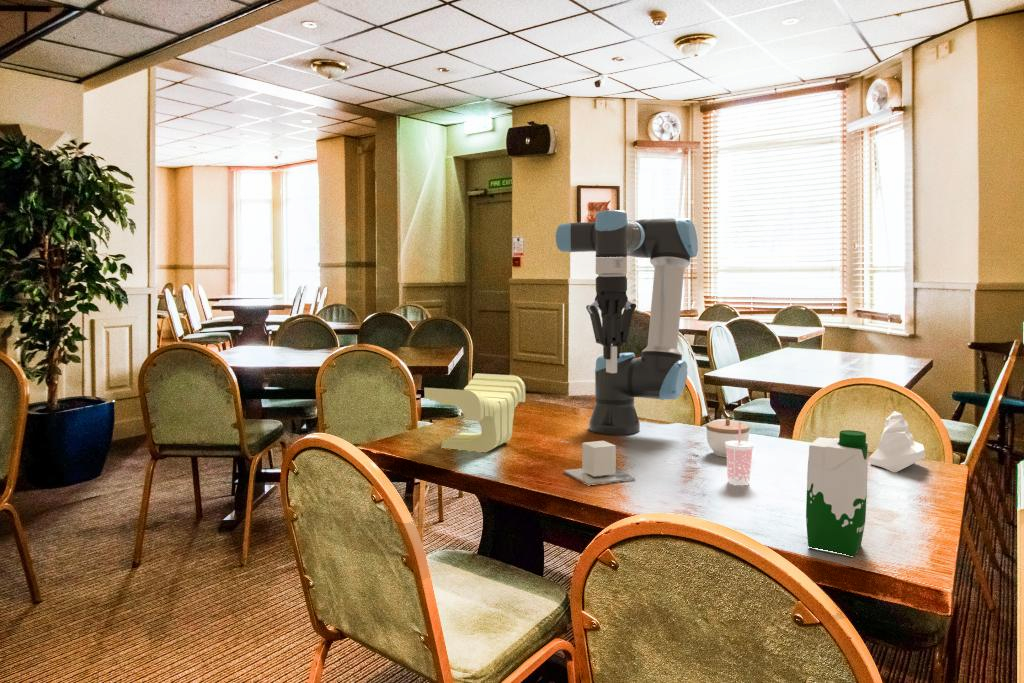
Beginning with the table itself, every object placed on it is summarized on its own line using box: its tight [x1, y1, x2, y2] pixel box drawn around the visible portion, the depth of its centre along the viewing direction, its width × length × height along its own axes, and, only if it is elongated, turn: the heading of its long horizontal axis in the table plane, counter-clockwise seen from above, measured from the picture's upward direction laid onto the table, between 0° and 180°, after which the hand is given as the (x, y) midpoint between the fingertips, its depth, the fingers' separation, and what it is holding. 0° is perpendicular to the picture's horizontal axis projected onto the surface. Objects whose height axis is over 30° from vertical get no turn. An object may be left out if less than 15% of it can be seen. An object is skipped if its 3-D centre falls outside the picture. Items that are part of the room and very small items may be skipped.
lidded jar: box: [705, 418, 750, 458], centre depth 186 cm, size 11×11×9 cm
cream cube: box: [581, 440, 617, 477], centre depth 165 cm, size 6×6×7 cm
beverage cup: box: [725, 420, 755, 485], centre depth 160 cm, size 6×6×14 cm
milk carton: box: [805, 429, 869, 557], centre depth 121 cm, size 9×9×20 cm
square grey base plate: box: [563, 467, 636, 485], centre depth 165 cm, size 12×12×7 cm
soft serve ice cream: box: [868, 410, 927, 473], centre depth 174 cm, size 12×15×14 cm
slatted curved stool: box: [423, 372, 526, 453], centre depth 196 cm, size 30×16×18 cm, turn 157°
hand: (611, 372), depth 175 cm, fingers closed
